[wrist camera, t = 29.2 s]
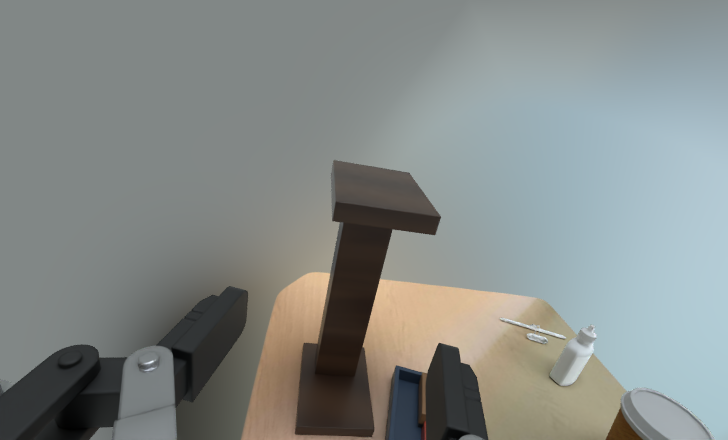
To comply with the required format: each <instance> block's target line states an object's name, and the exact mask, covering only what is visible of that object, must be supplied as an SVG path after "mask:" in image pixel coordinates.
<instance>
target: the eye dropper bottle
mask: <svg viewBox="0 0 728 440" xmlns="http://www.w3.org/2000/svg"><path fill="white" fill-rule="evenodd" d="M594 329H595V326H594V325H590V326H589V327H588V328H581V330H580V332H579V333H578V335H577V337H576V338H573V339H571V340H570V341H569V342H568V343H567V345H566V346H565V348H564V350H563V351H562V353H561V355H560V357H559V358H558V360H557V362H556V363H555V365H554V367H553V369H552V371H551V372H550V377H551V378H552V379H553V380H554V381H555V382H556V383H557V384H559V385H561V386H567V385H571V384H573V383H574V382H575V381H576V379H577V378H578V376H579V374H580V373H581V371H582V369H583V368H584V366H585V365H586V363H587V361H588V360H589V358H590V356H591V355H592V353H593V351H594V346H593V343H594V341H595V339H596V338H597V335H596V333H595V332H594Z"/></svg>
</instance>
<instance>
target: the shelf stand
mask: <svg viewBox="0 0 728 440" xmlns="http://www.w3.org/2000/svg"><path fill="white" fill-rule="evenodd" d="M331 187H332V221H336V222H340V225H339V231H338V236H337V241H336V246H335V252H334V257H333V263H332V268H331V273H330V279H329V284H328V290H327V295H326V300H325V306H324V311H323V317H322V322H321V328H320V333H319V338H318V344H312V343H304V344H303V351H302V362H301V373H300V385H299V396H298V407H297V418H296V429H295V434H308V435H339V436H370V437H372V435H373V432H374V423H373V415H372V407H371V399H370V391H369V383H368V375H367V367H366V359H365V351H364V347H363V343H364V339H365V335H366V331H367V327H368V323H369V319H370V315H371V311H372V307H373V304H374V300H375V296H376V292H377V288H378V284H379V280H380V276H381V272H382V268H383V264H384V260H385V257H386V253H387V249H388V245H389V241H390V237H391V233H392V229H395V230H401V231H409V232H416V233H423V234H431V235H435V234H436V231H437V228H438V225H439V222H440V218H441V216H440V215H439V213H438V212H437V211H436V209H435V208H434V207H433V205H432V204H431V202H430V201H429V200H428V198H427V197H426V195H425V194H424V193H423V191H422V190H421V189H420V187H419V186H418V184H417V183H416V182H415V180H414V179H413V178H412V176H411V175H410V173H407V172H401V171H395V170H389V169H383V168H377V167H371V166H365V165H359V164H353V163H347V162H342V161H335V160H334V161H333V167H332V173H331Z"/></svg>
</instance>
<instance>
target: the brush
mask: <svg viewBox="0 0 728 440" xmlns="http://www.w3.org/2000/svg"><path fill="white" fill-rule="evenodd" d="M426 377H427V373H422V375H421V378H420V380H419V387H418V427H419V428H422V429H421V440H426V390H425V386H426Z"/></svg>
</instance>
